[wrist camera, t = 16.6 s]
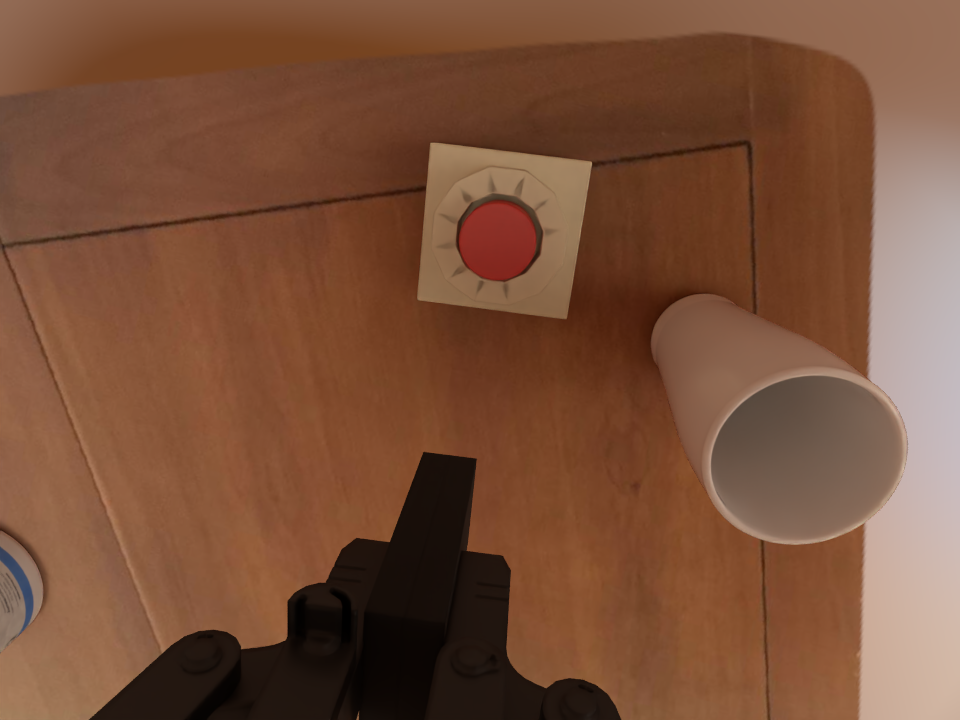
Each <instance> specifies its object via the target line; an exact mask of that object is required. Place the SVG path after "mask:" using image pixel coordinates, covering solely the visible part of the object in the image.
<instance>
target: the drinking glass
mask: <svg viewBox="0 0 960 720" xmlns="http://www.w3.org/2000/svg"><path fill="white" fill-rule="evenodd" d="M651 352H652V356H653V359H654V362H655V364H656V366H657V368H658V370H659V372H660V375H661V378H662V382H663V385H664V388H665V392H666V395H667V399H668V402H669V406H670V410H671V413H672V417H673V420H674V424H675V427H676V431H677V434H678V437H679V439H680V442H681V445H682V447H683V450H684V452H685V454H686V457H687V459H688V461H689V463H690V465H691V467H692V469H693V471H694V473H695V474H696V476H697V478H698V480H699V482H700V483H701V485H702V487H703V488H704V490H705V491H706V493H707V494H708V496H709V498H710V500H711V501H712V503H713V504H714V506H715V508H716V509H717V510H718V511H719V513H720V514H721V515H722V516H723V517H724V518H725V519H726V520H727V521H728V522H730V523H731V524H732V525H733V526H735V527H736V528H738V529H739V530H741V531H743V532H744V533H746V534H748V535H750V536H753V537H755V538H758V539H761V540H764V541H768V542H773V543H779V544H790V545H799V544H811V543H817V542H822V541H826V540H829V539H833V538H835V537H838V536H841V535H843V534H845V533H847V532H850V531H852V530H853V529H855V528H857V527H859V526H860V525H862V524H863V523H865V522H866V521H867V520H869V519H870V518H871V517H872V516H873V515H875V514H876V513H877V512H878V511H879V510H880V509H881V508H882V507H883V506H884V505H885V504H886V502H887V501H888V500H889V498H890V497H891V496H892V494H893V493H894V491H895V489H896V488H897V486H898V484H899V482H900V479H901V478H902V475H903V471H904V469H905V465H906V460H907V451H908V442H907V434H906V429H905V425H904V422H903V420H902V417H901V415H900V413H899V411H898V409H897V408H896V406H895V405H894V403H893V402H892V401H891V399H890V398H889V397H888V396H887V395H886V394H885V392H883V391H882V390H881V389H880V388H879V387H878V386H876V385H875V384H873V383H872V382H871V381H870V380H869V379H868V378H867V377H865V376H864V375H863V374H862V373H861V372H859V371H858V370H857V369H855V368H854V367H853V366H851V365H850V364H849V363H847V362H846V361H844V360H843V359H842V358H840V357H839V356H837V355H836V354H834V353H833V352H831V351H830V350H828V349H826V348H825V347H823V346H821V345H820V344H818V343H816V342H814V341H812V340H810V339H808V338H806V337H804V336H802V335H800V334H798V333H796V332H794V331H791V330H789V329H787V328H785V327H782V326H780V325H778V324H776V323H773V322H771V321H769V320H767V319H764V318H762V317H760V316H758V315H756V314H753V313H751V312H749V311H747V310H745V309H743V308H741V307H739V306H738V305H737V304H735V303H734V302H732V301H731V300H729V299H727V298H724V297H722V296H719V295H714V294H695V295H690V296H687V297H684V298H682V299H680V300H678V301H676V302H674V303H673V304H672V305H670V306H669V307H668V308H667V309H666V310H665V311H664V312H663V313H662V314H661V316H660V317H659V318H658V320H657V322H656V324H655V326H654V329H653V332H652V336H651Z"/></svg>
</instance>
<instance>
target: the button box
mask: <svg viewBox="0 0 960 720" xmlns="http://www.w3.org/2000/svg"><path fill="white" fill-rule="evenodd" d="M591 167H592V162H591V161H585V160H577V159H568V158H560V157H552V156H543V155H535V154H527V153H519V152H510V151H502V150H494V149H485V148H477V147H469V146H460V145H452V144H444V143H434V142H432V143H430V152H429V164H428V176H427V187H426V199H425V211H424V223H423V235H422V247H421V259H420V270H419V282H418V294H417V299H418V300H421V301H429V302H437V303H444V304H452V305H460V306H467V307H475V308H482V309H490V310H498V311H505V312H513V313H521V314H528V315H536V316H544V317H551V318H559V319H567V315H568V309H569V303H570V297H571V291H572V284H573V278H574V272H575V266H576V260H577V254H578V247H579V241H580V235H581V229H582V223H583V217H584V210H585V204H586V198H587V192H588V186H589V179H590V173H591ZM492 200H507V201H511V202H513V203H515V204H517V205H519V206H521V207H522V208H523V209H524V210H525V211H526V212H527V213H528V214H529V216H530V217H531V219H532V221H533V223H534V226H535V229H536V249H535V253H534V256H533V258H532V260H531V262H530V263H529V265H528V266H527V267H526V268H525V270H523V271H522V272H521V273H520V274H518V275H516V276H514V277H512V278H509V279H506V280H490V279H486V278H483V277H481V276H479V275H477V274H476V273H474V272H473V271H472V270H471V269H470V268H469V267H468V266H467V265H466V263H465V262H464V260H463V258H462V255H461V253H460V248H459V234H460V230H461V227H462V225H463V222H464V221H465V219H466V218H467V217H468V215H469V214H470V213H471V212H472V211H473V210H474V209H476V208H477V207H478V206H480V205H481V204H483V203H485V202H488V201H492Z"/></svg>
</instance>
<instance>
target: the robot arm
mask: <svg viewBox="0 0 960 720" xmlns="http://www.w3.org/2000/svg"><path fill="white" fill-rule="evenodd" d="M476 460H477V459H475V458H467V457H459V456H451V455H443V454H435V453H427V452H423V455H422V457H421V460H420V463H419V465H418V468H417V471H416V474H415V476H414V479H413V482H412V484H411V487H410V490H409V492H408V495H407V498H406V500H405V503H404V506H403V508H402V511H401V514H400V516H399V519H398V522H397V525H396V527H395V530H394V533H393V535H392V538H391V541H390V542H383V541H375V540H368V539H360V538H356V539H354V540H353V541H352V542H351V543H349V544H348V545H347V546H346V547H344V548H343V549H342V550H341V552H340V554H339V556H338V558H337V560H336V562H335V565H334V567H333V568H332V570H331V572H330V575H329V578H328V579H327V581H326V583H317V584H313V585H309V586H306V587H304V588H302V589H300V590H298V591H297V592H295V593H294V594H293V595H292V597H291V598H290V599H289V600H288V637H287V639H286V641H283V642H281V643H278V644H275V645H270V646H265V647H258V648H249V649H241V646H240V644H239V642H238V640H237V639H236V637H234V636H232V635H231V634H229V633H227V632H224V631H218V630H206V631H198V632H196V633H193V634H190V635H187V636H185V637H183V638H181V639H180V640H179V641H177V642H176V643H174V644H173V645H171V646H170V647H169V648H168V649H167V650H166V651H165V652H164V653H162V654H161V655H160V656H159V657H158V658H157V659H156V660H155V661H154V662H152V663H151V664H150V665H149V666H148V667H147V668H146V669H145V670H144V671H143V672H141V673H140V674H139V675H138V676H137V677H136V678H135V679H134V680H133V681H131V682H130V683H129V684H128V685H127V686H126V687H125V688H124V689H123V690H121V691H120V692H119V693H118V694H117V695H116V696H115V697H114V698H113V699H111V700H110V701H109V702H108V703H107V704H106V705H105V706H104V707H103V708H102V709H100V710H99V711H98V712H97V713H96V714H95V715H94V716H93V717H92V718H90V719H89V720H356V719H357V715H358V712H359V720H621V718H620V716H619V713H618V711H617V708H616V706H615V705H614V703H613V702H612V700H611V698H610V697H609V695H608V694H607V693H605V692H604V691H603V690H602V689H600V688H599V687H598V686H597V685H594V684H592V683H590V682H587V681H585V680H581V679H571V678H568V679H563V680H559V681H556V682H555V683H553V684H552V685H551V686H549V687H548V688H547V689H546V688H544V687H542V686H539V685H537V684H535V683H533V682H531V681H529V680H527V679H525V678H524V677H523V676H521V675H520V674H519V673H518V672H517V671H516V670H515V669H514V668H513V666H512V665H511V664H510V661H509V659H508V657H507V650H506V643H507V626H508V609H509V592H510V575H511V570H510V568H509V566H508V564H507V563H506V561H505V559H504V557H503V556H500V555H493V554H485V553H478V552H470V551H466V550H467V545H468V536H469V527H470V517H471V508H472V498H473V489H474V479H475V470H476Z"/></svg>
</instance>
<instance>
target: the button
mask: <svg viewBox="0 0 960 720" xmlns="http://www.w3.org/2000/svg"><path fill="white" fill-rule="evenodd" d="M459 248H460V253H461V255H462V258H463V260H464V262H465V263H466V265H467V266H468V267H469V268H470V269H471V270H472V271H473V272H474V273H476V274H477V275H479V276H481V277H483V278H486V279H490V280H506V279H509V278H512V277H514V276H516V275H518V274H520V273H521V272H522V271H523V270H525V268H526V267H527V266H528V265H529V263H530V262H531V260H532V258H533V256H534V253H535V249H536V229H535V226H534V223H533V221H532V219H531V217H530V216H529V214H528V213H527V212H526V211H525V210H524V209H523V208H522V207H521V206H519V205H517V204H515V203H513V202H511V201H507V200H492V201H488V202H485V203H483V204H481V205H480V206H478V207H477V208H476V209H474V210H473V211H472V212H471V213H470V214H469V215H468V217H467V218H466V219H465V221H464V222H463V225H462V227H461V230H460V234H459Z"/></svg>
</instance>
